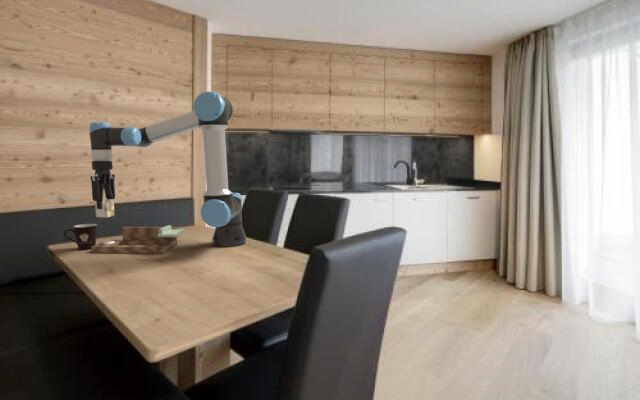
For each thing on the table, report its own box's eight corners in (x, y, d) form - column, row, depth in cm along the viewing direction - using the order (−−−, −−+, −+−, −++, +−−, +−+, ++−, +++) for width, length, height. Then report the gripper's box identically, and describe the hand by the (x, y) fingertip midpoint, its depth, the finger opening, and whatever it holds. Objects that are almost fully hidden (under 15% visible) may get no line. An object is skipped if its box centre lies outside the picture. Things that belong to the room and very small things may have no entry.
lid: (184, 231, 170) (184, 224, 170) (174, 236, 159) (174, 229, 159) (169, 231, 171) (168, 224, 170) (157, 236, 160) (157, 229, 159)
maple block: (103, 215, 167) (102, 201, 166) (114, 215, 167) (113, 201, 166) (96, 217, 162) (95, 202, 161) (107, 217, 162) (106, 203, 161)
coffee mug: (102, 246, 172) (101, 223, 170) (89, 251, 163) (87, 227, 162) (78, 245, 173) (76, 223, 172) (63, 250, 164) (61, 227, 163)
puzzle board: (177, 245, 173) (176, 227, 172) (163, 253, 159) (162, 233, 158) (111, 244, 174) (110, 226, 173) (92, 252, 160) (90, 233, 159)
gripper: (105, 160, 171) (109, 212, 173) (79, 160, 153) (83, 218, 156) (122, 160, 170) (125, 212, 173) (97, 160, 153) (101, 219, 155)
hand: (105, 215), depth 164 cm, fingers closed on maple block, 5 cm apart
